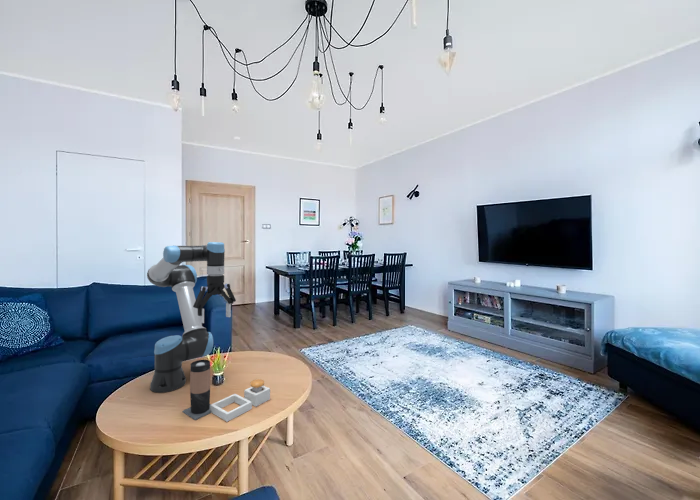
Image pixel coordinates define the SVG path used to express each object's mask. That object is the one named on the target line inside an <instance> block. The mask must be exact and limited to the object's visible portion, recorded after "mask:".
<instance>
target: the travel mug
mask: <svg viewBox="0 0 700 500" xmlns="http://www.w3.org/2000/svg"><path fill="white" fill-rule="evenodd" d="M189 371H190V378H189V380H190V381H189V382H190V384H189V387H190V388H189V394H190V395H189V396H190V407H191V412H192V413H193V414H201V413H204V412H206V411H208V410H209V406H210V404H211V403H210V402H211V361H210V360H209V359H198V360H195V361H193V362H191V363H190V369H189Z"/></svg>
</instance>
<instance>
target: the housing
mask: <svg viewBox="0 0 700 500" xmlns="http://www.w3.org/2000/svg"><path fill="white" fill-rule="evenodd" d="M243 395H244V397H243V398H245V399H247V400H249V401H251V402H252V407H258V406H260V405H262V404H264V403H266V402H267V401H269V400H270V399H271V388H270V387H267V386H265V385H263V386H262V391H260V392H258V393H255V392H253V387H251V386H250V387H248V388H246V389H244V391H243Z"/></svg>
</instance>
